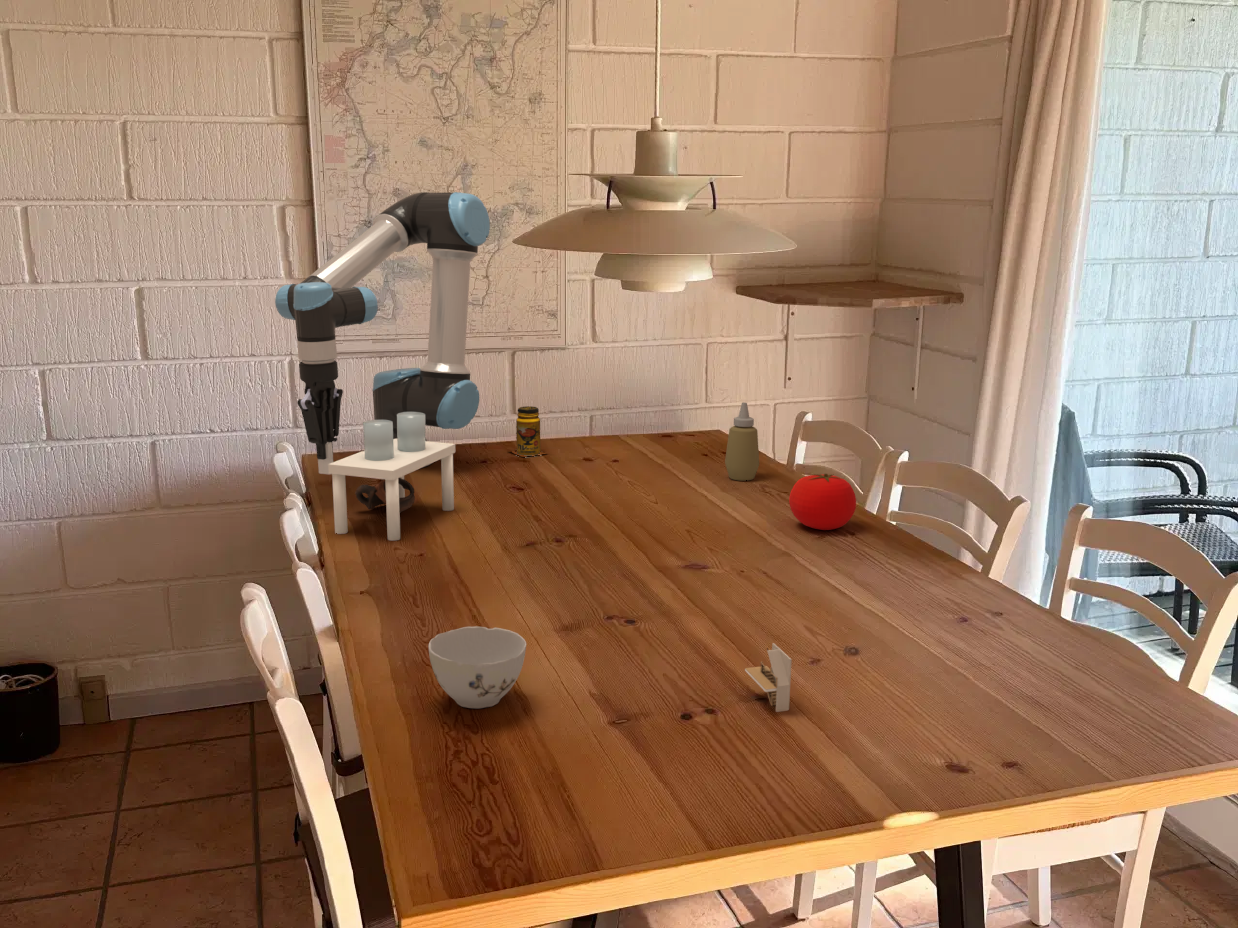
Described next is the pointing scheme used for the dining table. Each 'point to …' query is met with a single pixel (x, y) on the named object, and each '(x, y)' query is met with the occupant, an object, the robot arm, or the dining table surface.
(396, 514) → the side counter
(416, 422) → the grey domed cylinder
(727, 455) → the squeeze bottle
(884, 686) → the dining table surface
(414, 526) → the dining table surface
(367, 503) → the pottery mug
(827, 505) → the tomato
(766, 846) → the dining table surface
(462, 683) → the teacup
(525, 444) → the condiment
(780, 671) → the architectural model
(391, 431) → the tumbler
